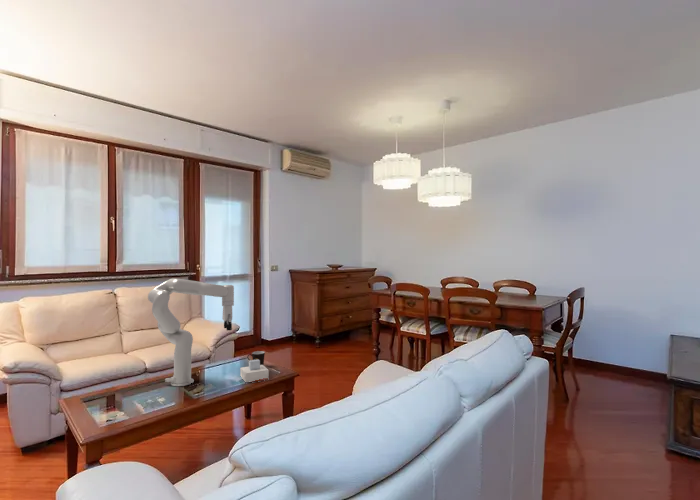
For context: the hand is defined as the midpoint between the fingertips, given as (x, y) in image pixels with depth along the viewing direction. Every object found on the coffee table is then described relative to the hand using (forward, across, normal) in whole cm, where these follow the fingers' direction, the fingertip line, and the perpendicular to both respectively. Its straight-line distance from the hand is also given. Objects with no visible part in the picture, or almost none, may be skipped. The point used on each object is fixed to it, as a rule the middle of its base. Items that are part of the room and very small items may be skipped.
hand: (227, 329), depth 242 cm
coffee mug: (+28, -2, +20) cm, 35 cm away
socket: (+28, +23, +12) cm, 38 cm away
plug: (+27, +23, +12) cm, 38 cm away
